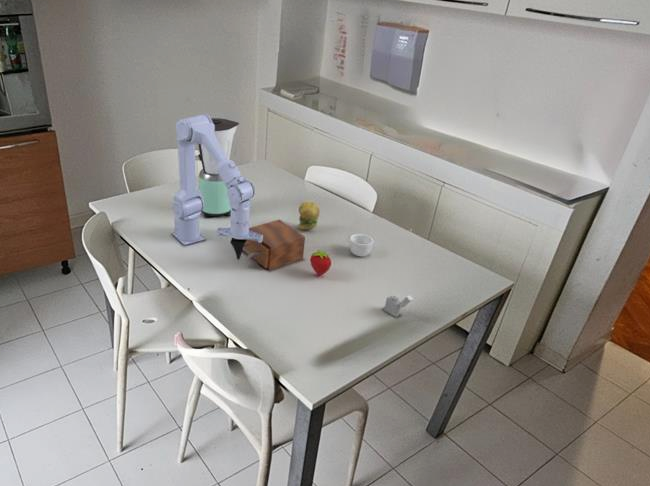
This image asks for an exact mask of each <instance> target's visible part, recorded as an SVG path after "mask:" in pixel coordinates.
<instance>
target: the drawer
mask: <svg viewBox="0 0 650 486" xmlns="http://www.w3.org/2000/svg"><path fill="white" fill-rule="evenodd" d="M269 251H270V249H269V248H268V247H266V246H265V245H264V244H263V243H262V242H261V243H259V242H258V241H253V240H247V241H246V243H245V245H244V247H243V249H242V253H241V254H243V255H244V256H245V257H247V259H251V258H252V259H253V260H255V261H256V262H257V263H258V264H259V265H260V266H262V267H263V268H265V269H267V268H268V266H269Z"/></svg>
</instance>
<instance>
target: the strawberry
mask: <svg viewBox="0 0 650 486" xmlns="http://www.w3.org/2000/svg"><path fill="white" fill-rule="evenodd" d="M309 260H310V267H311V268H312V269H313V271H314V272H315V273H316V275H317V276H318V277H322V276H323V275H325V274H326V273H327V272H328V271H329V270H330V268H331V267H332V259H331V258H330V255H329V254H328V253H327V251H322V250H320V249H317V252H313V253H312V254H311V256H310V259H309Z"/></svg>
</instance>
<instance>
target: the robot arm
mask: <svg viewBox="0 0 650 486" xmlns="http://www.w3.org/2000/svg"><path fill="white" fill-rule="evenodd" d="M175 131H176V143H177V157H178V173H179V174H178V176H179V189H178V190H177V191H176V193H174V195H173V202H172V211H173V214H174V219H173V221H174V232H172V235H173V236H174V237H175V238H176V239H177V240H178V241H179V242H180V243H182V245H184V246H188V245H191V244H195V243H198V242H202V241H205V237H204V236H202V235H201V233H200V227H201V226H200V215H202V212H201V211H202V210H203V209H204V200H203V197H202V192H201V191H200V190H199V188H197V172H196V171H197V170H196V160H195V155H196V145H198V144H202V145H203V146H204V147H205V148H206V150H207V151H208V152H209V154H210V155H211V157H212V158H213V159H214V161H215V162H216V164H217V172H218V174H219V176H220V177H221V179H222V181H223V182H224V184H225V185H226V187H227V189H228V192H227V196H228V199H229V205H230V207H231V212H230V227H218V228H216V237H220V236H222V237H228V238H230V244H231V246H232V249H233V250H234V252H235V256H236V260H238V261H239V260H240V259H241V257H242V254H243V253H242V249H243V248H244V245H245V243H246V241H247V240H253V241H258V242H259V243H261V242H262V241H263V235H262V234H258V233H255V232H252V231H249V228H250V214H251V213H250V212H251V200H252V199H253V198H254V196H255V194H256V193H255V187H254V185H253V182H252V181H251V180H249V179H247V177H245V176H243V175H242V173H241V172H240V170H239V168H238V167H237V164H236V163H235V162H234V160H232V159H227V157H226V155H225V153H224V151H223V149H222V147H221V146H220V144H219V142H218V140H217V138H216V136H215V134H214V131H215V125H214V124H213V122H212V120H211V116H210V115H209V114H207V113H202V114H199V115H196V116H191V117H185V118H181V119H179V120H178V121H177V122H176V123H175ZM195 144H196V145H195Z"/></svg>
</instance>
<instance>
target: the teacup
mask: <svg viewBox="0 0 650 486" xmlns="http://www.w3.org/2000/svg"><path fill="white" fill-rule="evenodd" d="M346 241H347V242H348V244H349V251H350V252H351V254H353V255H354V256H356V257H361V258H362V257H366V256H368V255H369V254H370V253H371V252H372V250H373V247H374V238H372V237H371V236H370V235H367V234H363V233H354V234H352V235H348V236H347V237H346Z"/></svg>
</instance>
